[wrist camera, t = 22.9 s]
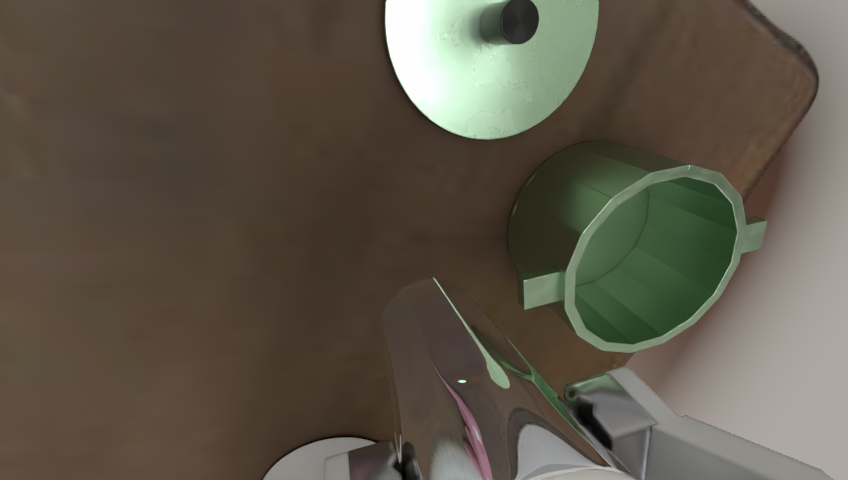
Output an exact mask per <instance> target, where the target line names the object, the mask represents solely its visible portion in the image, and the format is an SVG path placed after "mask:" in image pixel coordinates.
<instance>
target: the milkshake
mask: <svg viewBox="0 0 848 480" xmlns="http://www.w3.org/2000/svg"><path fill="white" fill-rule="evenodd" d="M382 346H383V353H384V360H385V367H386V374H387V381H388V388H389V395H390V402H391V410H392V417H393V424H394V431H395V438H396V445H397V452H398V459H399V463H400V468H401V472H402V480H638V479H637V478H636V477H635V476H634V475H633V474H632V473H631V472H630V471H629V470H628V468H627V467H626V466H625V465H624V464H623V463H622V462H621V461H620V460H619V459H618V458H617V457H616V456H615V455H614V454H613V452H612V451H611V450H610V449H609V448H608V447H607V446H606V445H605V444H604V443H603V442H602V441H601V440H600V439H599V438H598V436H597V435H596V434H595V433H594V432H593V431H592V430H591V429H590V428H589V427H588V426H587V425H586V424H585V423H584V422H583V421H582V419H581V418H580V417H579V416H578V415H577V414H576V413H575V412H574V411H573V410H572V409H571V408H570V407H569V406H568V405H567V404H566V402H565V401H564V400H563V399H562V398H561V397H560V396H559V395H558V394H557V393H556V392H555V391H554V390H553V389H552V388H551V387H550V386H549V385H548V384H547V382H546V381H545V380H544V379H543V378H542V377H541V376H540V375H539V374H538V373H537V372H536V370H535V369H534V368H533V367H532V366H531V365H530V364H529V363H528V361H527V360H526V359H525V358H524V357H523V356H522V355H521V353H520V352H519V351H518V350H517V349H516V348H515V347H514V345H513V344H512V343H511V342H510V341H509V340H508V339H507V337H506V336H505V335H504V334H503V333H502V332H501V330H500V329H499V328H498V327H497V326H496V325H495V324H494V322H493V321H492V320H491V319H490V318H489V317H488V316H487V314H486V313H485V312H484V311H483V310H482V309H481V307H480V306H479V305H478V304H477V303H476V302H475V301H474V299H473V298H472V297H471V296H470V295H469V294H468V293H467V291H466V290H465V289H464V288H463V287H462V286H461V285H460V284H457V283H454V282H450V281H446V280H443V279H439V278H435V277H430V278H427V279H424V280H421V281H418V282H415V283H412V284H409V285H405V286H403V287H402V288H401V289H400V290H399V292H398V293H397V294H396V295H395V296H394V297H393V299H392V300H391V301H390V302H389V303H388V304H387V306H386V307H385V308H384V309H383V321H382Z"/></svg>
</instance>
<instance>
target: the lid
mask: <svg viewBox="0 0 848 480" xmlns="http://www.w3.org/2000/svg"><path fill="white" fill-rule="evenodd" d="M598 14H599V0H385V2H384V33H385V42H386V47H387V52H388V56H389V59H390V62H391V65H392V68H393V71H394V73H395V76H396V78H397V80H398V82H399V84H400V86H401V88H402V89H403V91H404V92H405V94H406V95H407V97H408V98H409V100H410V101H411V102H412V103H413V104H414V106H415V107H416V108H417V109H418V110H419V111H420V112H421V113H422V114H423V115H424V116H426V117H427V118H428V119H429V120H431V121H432V122H434V123H435V124H436V125H438V126H440V127H441V128H443V129H445V130H447V131H449V132H451V133H454V134H457V135H460V136H463V137H468V138H473V139H488V140H490V139H499V138H505V137H509V136H513V135H516V134H518V133H521V132H523V131H526V130H528V129H530V128H531V127H533V126H535V125H537V124H538V123H540V122H541V121H543V120H544V119H545V118H547V117H548V116H549V115H550V114H551V113H553V112H554V111H555V110H556V109H557V108H558V107H559V106H560V105H561V104H562V103H563V101H564V100H565V99H566V98H567V97H568V96H569V94H570V93H571V91H572V90H573V88H574V87H575V85H576V84H577V82H578V80H579V79H580V77H581V75H582V73H583V71H584V69H585V67H586V64H587V62H588V60H589V57H590V54H591V51H592V48H593V44H594V41H595V36H596V31H597V24H598Z"/></svg>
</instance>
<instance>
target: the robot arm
mask: <svg viewBox="0 0 848 480" xmlns="http://www.w3.org/2000/svg"><path fill="white" fill-rule="evenodd" d="M564 398H565V399H566V401H567V402H568V403H569V405H568V406H569V407H570V408H571V409H572V410H573V411H574V412H575V413H576V414H577V415H578V416H579V417H580V418H581V419H582V421H583V422H584V423H585V424H586V425H587V426H588V427H589V428H590V429H591V430H592V431H593V432H594V433H595V434H596V435H597V436H598V438H599V439H600V440H601V441H602V442H603V443H604V444H605V445H606V446H607V447H608V448H609V449H610V450H611V451H612V452H613V454H614V455H615V456H616V457H617V458H618V459H619V460H620V461H621V462H622V463H623V464H624V465H625V466H626V467H627V468H628V470H629V471H630V472H631V473H632V474H633V475H634V476H635V477H636V478H637V479H638V480H833V479H832V478H831V477H830V476H828V475H827V474H826V473H825V472H823V471H822V470H821V469H818V468H816V467H813V466H810V465H808V464H806V463H803V462H801V461H798V460H796V459H793V458H791V457H788V456H786V455H783V454H781V453H778V452H776V451H774V450H771V449H769V448H766V447H764V446H761V445H759V444H756V443H754V442H751V441H749V440H746V439H744V438H741V437H739V436H736V435H733V434H731V433H729V432H726V431H724V430H721V429H719V428H717V427H714V426H712V425H709V424H706V423H704V422H702V421H699V420H696V419H694V418H691V417H689V416H686V415H685V416H681V417H679V416H678V415H677V414H676V413H675V412H674V411H673V410H672V409H671V408H670V407H669V406H668V405H667V404H666V403H665V402H664V401H663V400H662V399H661V398H660V397H659V396H658V395H657V394H656V393H655V392H654V391H652V390H651V389H650V388H649V387H648V386H647V385H646V384H645V383H644V382H643V381H642V380H641V379H640V378H639V377H638V376H637V375H636V374H635V373H634V372H633V371H632V370H631V369H629V368H627V367H625V366H624V367H621V368H618V369H615V370H612V371H608V372H605V373H601V374H598V375H595V376H591V377H588V378H585V379H582V380H579V381H576V382H573V383H570V384H567V385H566V386H565V388H564ZM263 480H402V472H401V468H400V463H399V459H398V453H397V450H396V446H395V442H394V438H393V439H390V440H386V441H383V442H379V443H375V442H373V441H370V440H366V439H361V438H352V437H340V438H331V439H325V440H321V441H317V442H314V443H310V444H308V445H305V446H303V447H300V448H298V449H296V450H294V451H293V452H291V453H289V454H288V455H286V456H285V457H283V458H282V459H281V460H279V461H278V462H277V463H276V464H275V465H274V466H273V467H272V468H271V469H270V470H269V471H268V473H267V474H266V476H265V477H264V479H263Z"/></svg>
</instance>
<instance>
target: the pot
mask: <svg viewBox="0 0 848 480" xmlns="http://www.w3.org/2000/svg"><path fill="white" fill-rule="evenodd" d="M766 225H767V220H764V219H762V218H759V217H756V216H754V217H750V218H746V219H745V215H744V209H743V203H742V197H741V196H740V195H739V193H738V192H737V191H736V190H735V189H734V188H733V186H732V185H731V184H730V183H729V182H728V181H727V180H726V178H725V177H724V176H723V175H722V174H721V173H719V172H715V171H712V170H708V169H705V168H701V167H698V166H694V165H691V164H687V163H684V162H681V161H677V160H674V159H670V158H667V157H663V156H660V155H656V154H653V153H649V152H646V151H642V150H639V149H635V148H632V147H628V146H625V145H621V144H617V143H614V142H610V141H607V140H601V141H587V142H582V143H579V144H575V145H572V146H570V147H568V148H565V149H563V150H561V151H560V152H558V153H556V154H554V155H553V156H551V157H550V158H549V159H547V160H546V161H545V162H544V163H543V164H541V165H540V166H539V167H538V168H537V169H536V170H535V171H534V172H533V174H532V175H531V176H530V177H529V178H528V180H527V181H526V182H525V184H524V185H523V187H522V188H521V190H520V192H519V194H518V196H517V197H516V200H515V202H514V205H513V207H512V210H511V214H510V218H509V224H508V247H509V251H510V255H511V258H512V260H513V262H514V265H515V266H516V268H517V269H518V271H519V272H520V274H518V302H519V304H520V305H521V306H522V307H523V309H524V310H525V309H529V308H533V307H537V306H541V305H545V304H548V305H549V306H550V307H551V308H552V309H553V310H554V311H555V312H556V313H557V314H558V315H559V317H560V318H561V319H562V320H563V321H564V322H565V323H566V324H567V325H568V326H569V327H570V328H571V329H572V330H573V331H574V332H575V333H576V334H577V335H578V336H579V337H581V338H582V339H584V340H585V341H587V342H589V343H590V344H592V345H593V346H595V347H597V348H598V349H600V350H603V351H615V352H628V353H631V352H635V351H638V350H642V349H645V348H649V347H652V346H656V345H659V344H662V343H664V342H666V341H668V340H669V339H671V338H672V337H674V336H675V335H677V334H679V333H680V332H682V331H683V330H685V329H686V328H688V327H690V326H691V325H693V324H694V323H696V321H697V320H698V319H699V318H700V317H701V316H702V315H703V314H704V313H705V312H706V311H707V310H708V309H709V308H710V306H712V305H713V304H714V302H715V301H716V300H717V299H718V298H719V297H720V296H721V294H722V292H723V291H724V289H725V287H726V285H727V283H728V282H729V280H730V278H731V276H732V275H733V273H734V271H735V269H736V268H737V265H738V264H739V261H740V255H741V253H745V252H749V251H752V250H756V249H760V248H761V245H762V241H763V237H764V233H765V229H766Z"/></svg>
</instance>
